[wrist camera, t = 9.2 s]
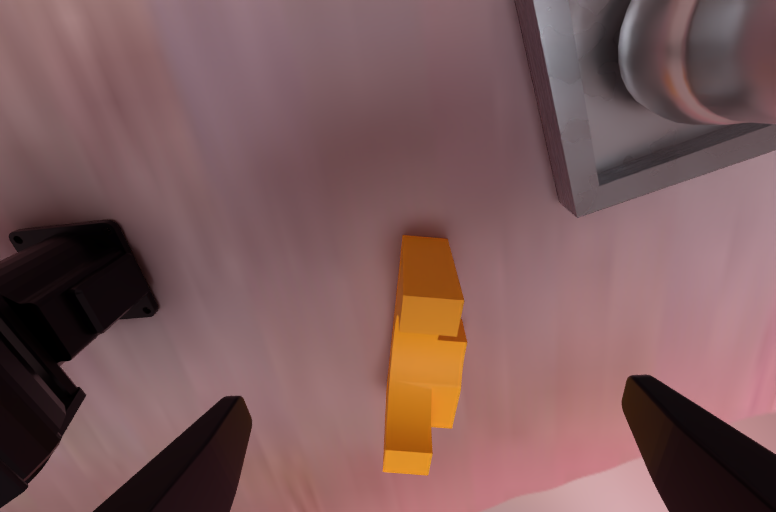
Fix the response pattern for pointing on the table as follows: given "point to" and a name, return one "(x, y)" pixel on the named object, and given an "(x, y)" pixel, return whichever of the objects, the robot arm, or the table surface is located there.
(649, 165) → the tray
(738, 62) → the plastic bottle
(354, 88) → the table surface
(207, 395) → the table surface
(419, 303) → the orange stepped block
